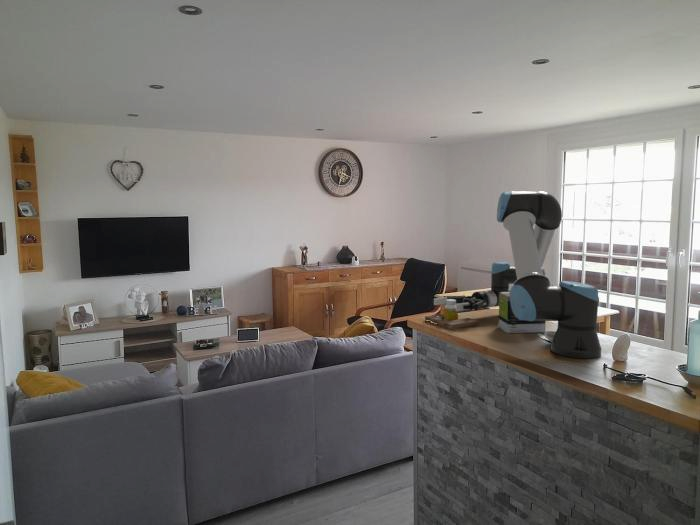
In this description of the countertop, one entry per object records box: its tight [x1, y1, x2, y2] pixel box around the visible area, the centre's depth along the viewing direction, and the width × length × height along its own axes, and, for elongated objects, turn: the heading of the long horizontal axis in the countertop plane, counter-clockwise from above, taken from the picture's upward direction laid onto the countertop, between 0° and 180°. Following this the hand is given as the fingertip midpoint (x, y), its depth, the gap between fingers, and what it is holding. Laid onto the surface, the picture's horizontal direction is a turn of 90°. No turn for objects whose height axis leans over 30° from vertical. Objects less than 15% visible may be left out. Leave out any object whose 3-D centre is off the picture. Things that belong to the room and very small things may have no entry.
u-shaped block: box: [424, 313, 479, 331], centre depth 203 cm, size 17×14×2 cm
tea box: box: [498, 292, 546, 334], centre depth 191 cm, size 15×10×15 cm
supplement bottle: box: [443, 299, 458, 321], centre depth 203 cm, size 5×5×10 cm
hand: (445, 304), depth 201 cm, fingers open, 13 cm apart
